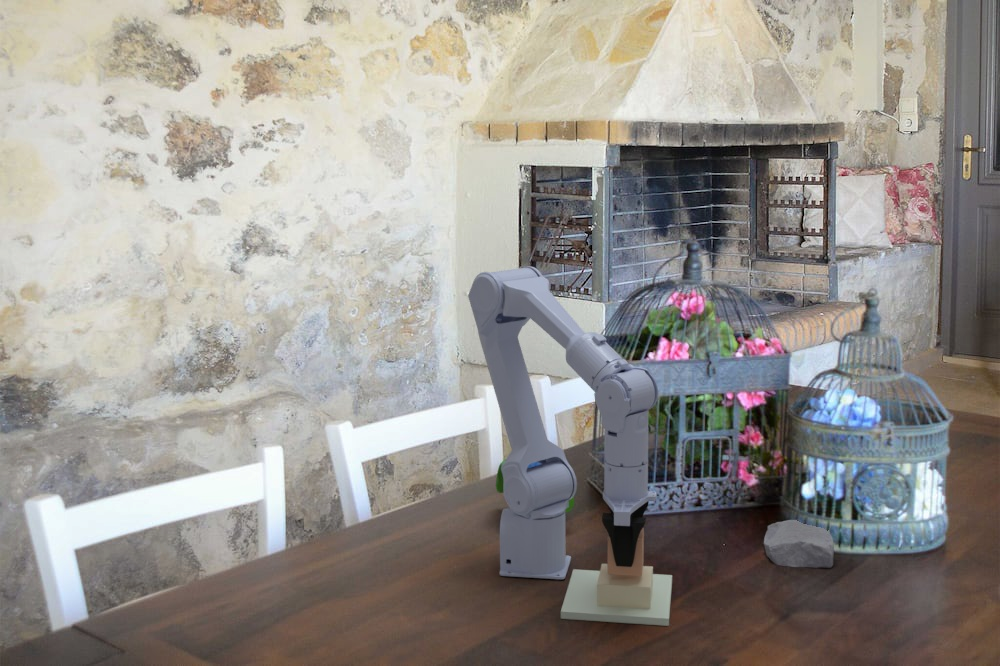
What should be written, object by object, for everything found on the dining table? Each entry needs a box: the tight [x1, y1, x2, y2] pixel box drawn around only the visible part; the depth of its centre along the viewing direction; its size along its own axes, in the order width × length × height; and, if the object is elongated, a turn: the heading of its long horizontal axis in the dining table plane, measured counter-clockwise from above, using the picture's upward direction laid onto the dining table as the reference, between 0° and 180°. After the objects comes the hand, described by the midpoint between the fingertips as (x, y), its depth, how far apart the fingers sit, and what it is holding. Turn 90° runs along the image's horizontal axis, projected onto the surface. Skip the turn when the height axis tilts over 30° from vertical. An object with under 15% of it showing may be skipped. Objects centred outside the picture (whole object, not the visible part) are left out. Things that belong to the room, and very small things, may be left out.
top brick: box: [607, 527, 645, 576], centre depth 145 cm, size 4×4×5 cm
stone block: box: [763, 519, 835, 569], centre depth 163 cm, size 12×5×10 cm
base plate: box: [560, 563, 673, 627], centre depth 147 cm, size 14×14×4 cm
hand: (625, 558), depth 145 cm, fingers closed on top brick, 4 cm apart
